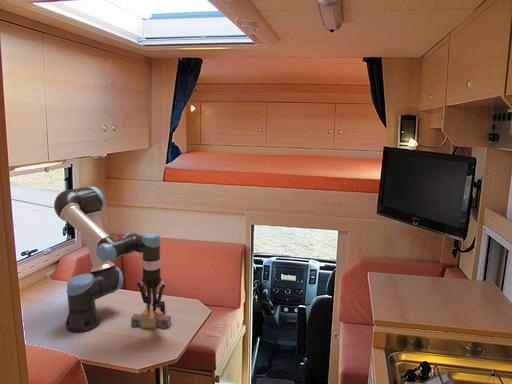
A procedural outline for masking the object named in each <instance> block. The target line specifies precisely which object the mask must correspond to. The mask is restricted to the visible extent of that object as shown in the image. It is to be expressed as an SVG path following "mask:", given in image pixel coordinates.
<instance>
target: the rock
mask: <svg viewBox="0 0 512 384" xmlns="http://www.w3.org/2000/svg"><path fill="white" fill-rule="evenodd" d="M165 303H166V302H165V301H164V300H161V301H160V303H159V304H157V308H160V311H161V312H162V313H163V314H164V313H165V311H166V304H165Z"/></svg>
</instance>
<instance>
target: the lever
mask: <svg viewBox="0 0 512 384" xmlns="http://www.w3.org/2000/svg"><path fill="white" fill-rule="evenodd" d="M151 303H153V302H151ZM145 306H146V307H145V308H148V304H147V303H145ZM155 315H156V316H157V317H161V316H163V315H164V313H162V312H161V311H160V310H159V309H158V308H157V309H156V311H155Z"/></svg>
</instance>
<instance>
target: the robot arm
mask: <svg viewBox="0 0 512 384" xmlns="http://www.w3.org/2000/svg"><path fill="white" fill-rule="evenodd" d="M104 205H105V197H104V195H103V192H102V190H100V189H99V188H98V187H96V186H84V187H79V188H73V189H65V190H63V191H61V192H60V193H59V194H58V195H57V196H56V198H55V200H54V204H53V208H54V212H55V213H56V215H57V217H58V218H59V219H60V220H62V221H64V222H68V224H69V225H70V226H71V227H73V228H74V229H75V230H76V231H77V232H78V233H79V234H81V235H82V236H83V238H85V240H86V245H87V249H88V253H89V257H90V261H91V265H92V267H91V269H90V273H82V274H81V273H80V274H78V275H75V276H73V277H71V278H70V279H69V280H68V282H67V285H66V293H67V304H68V306H67V307H68V313H67V317H66V321H65V329H66V330H67V331H68V332H71V333H85V332H89V331H92V330H94V329H95V328H97V327H99V326H100V324H101V316H100V314H99V311H98V310H97V307H96V300H98V299H101V298H103V297H105V296H108V295H109V294H113V293H115V292H117V291H118V290H120V289H121V288H122V286H123V284H124V274H123V272H122V270H121V269H120V268H119V267H118V266H116V264H115V263H114V262H112V261H113V260H115V259H118V258H120V257H123V256H127V255H129V254H133V253H140V254H142V278H141V280H139V281H138V282H137V283H136V285H137V287H138V288H139V291H140V295H141V299H142V302H143V304H146V303H147V304H148V311H150V319H153V318H154V316H155V311H156V309H157V304H159V303H160V301H162V296H163V293H164V289H165V287H166V286H167V282H164V281H162V278H161V239H160V238H161V236H160V234H159V233H156V232H146V233H143V234H142V235H141V234H138V233H134V232H128V233H125V235H123V237H122V238H118V239H114V237H112V236H110V235H109V234H108V233H107V232H106V231H105V230H104V229H103V225H102V220H101V219H102V218H101V217H100V215H101V214H102V213H103V212H102V211H103V210H102V208H103V207H104ZM158 286H159V291H158ZM145 287H146V288H145ZM151 302H153V303H151Z"/></svg>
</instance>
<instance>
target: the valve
mask: <svg viewBox="0 0 512 384" xmlns="http://www.w3.org/2000/svg"><path fill="white" fill-rule="evenodd" d="M158 309H159V310H160V308H158ZM130 321H131V322H130V325H131V327H132V328H139V327H141V329H150V330H151V329H152V330H156V329H157V328H160V329H161V330H167V329H169V328H170V326H171V324H172V316H171V315H164V314H163V316H161V317H157V316H156V315H155V316H154V318H153V319H150V311H148V308H146V307H145V308H144V310H143V311H142V312H141V313H139V314H138V313H133V315H132V316H131V317H130Z"/></svg>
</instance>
